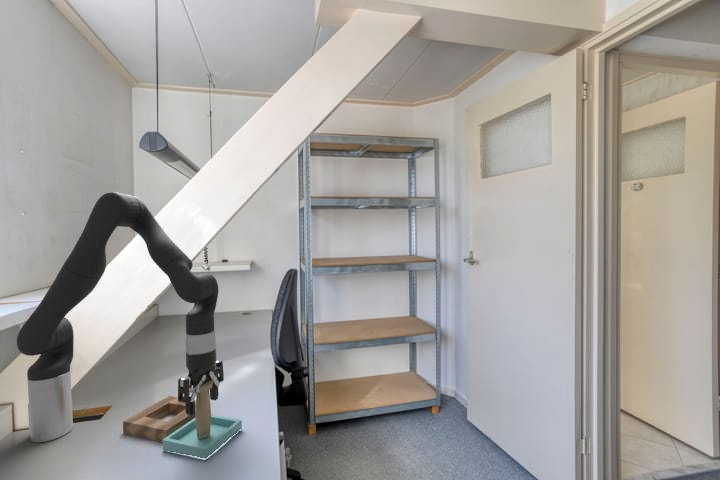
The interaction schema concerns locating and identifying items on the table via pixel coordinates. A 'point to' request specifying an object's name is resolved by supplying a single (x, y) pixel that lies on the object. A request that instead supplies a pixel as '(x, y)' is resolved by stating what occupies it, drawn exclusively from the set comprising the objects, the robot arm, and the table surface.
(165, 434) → the socket block
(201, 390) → the handle
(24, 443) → the table surface
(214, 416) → the tray
